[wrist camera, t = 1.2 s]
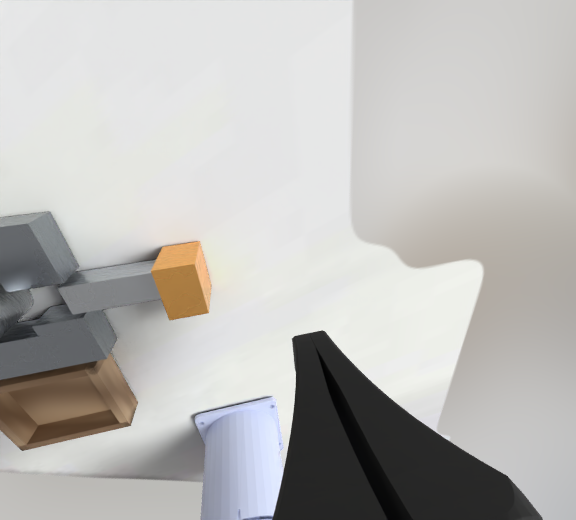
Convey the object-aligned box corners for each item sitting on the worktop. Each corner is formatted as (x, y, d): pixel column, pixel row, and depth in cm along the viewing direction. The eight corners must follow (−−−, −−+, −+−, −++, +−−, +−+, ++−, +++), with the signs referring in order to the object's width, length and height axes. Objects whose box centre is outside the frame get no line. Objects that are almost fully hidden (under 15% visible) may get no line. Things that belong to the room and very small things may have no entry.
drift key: (199, 241, 18) (194, 264, 15) (211, 285, 20) (208, 313, 17) (67, 261, 17) (35, 289, 14) (91, 306, 19) (68, 338, 16)
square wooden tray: (137, 402, 24) (130, 425, 22) (38, 424, 23) (22, 450, 21) (105, 345, 20) (93, 367, 19) (-13, 368, 19) (-38, 394, 18)
